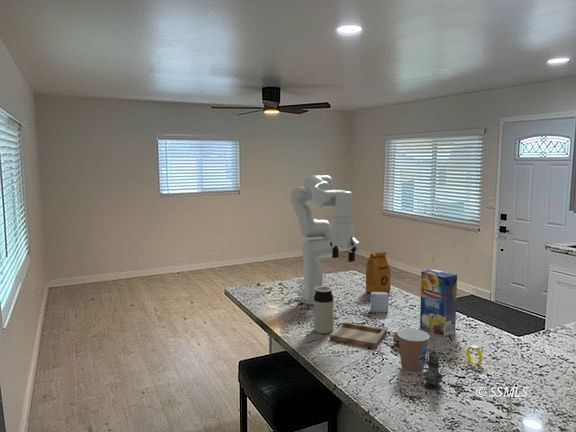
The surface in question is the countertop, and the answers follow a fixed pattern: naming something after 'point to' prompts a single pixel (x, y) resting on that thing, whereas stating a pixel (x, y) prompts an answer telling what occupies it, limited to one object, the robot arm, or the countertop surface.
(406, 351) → the coffee cup
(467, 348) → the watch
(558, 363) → the countertop surface
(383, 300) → the medicine box
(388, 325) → the countertop surface
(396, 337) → the skull
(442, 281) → the juice carton
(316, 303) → the travel mug
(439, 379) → the grey stone figurine
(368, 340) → the walnut tray
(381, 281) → the coffee package
